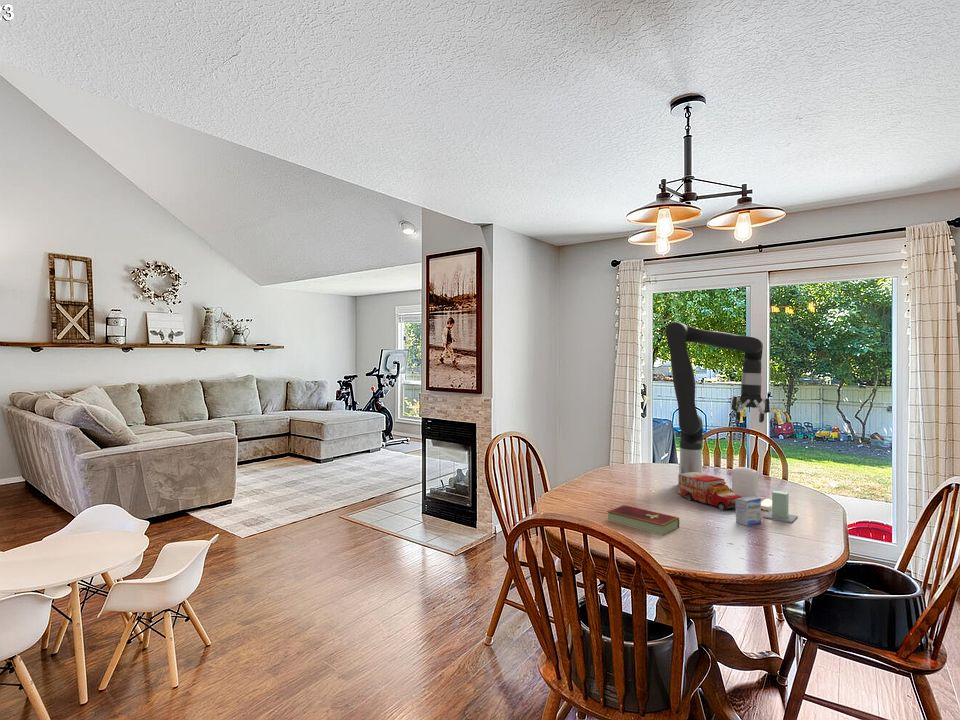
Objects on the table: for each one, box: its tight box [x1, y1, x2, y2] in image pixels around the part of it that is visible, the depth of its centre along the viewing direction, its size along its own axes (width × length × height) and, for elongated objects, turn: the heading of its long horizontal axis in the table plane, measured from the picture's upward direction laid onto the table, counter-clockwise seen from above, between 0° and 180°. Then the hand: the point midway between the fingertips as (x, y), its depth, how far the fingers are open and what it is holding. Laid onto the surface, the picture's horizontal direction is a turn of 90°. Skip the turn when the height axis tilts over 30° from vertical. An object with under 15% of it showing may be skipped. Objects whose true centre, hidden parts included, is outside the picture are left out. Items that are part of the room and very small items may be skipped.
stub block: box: [771, 490, 790, 518], centre depth 181 cm, size 4×3×8 cm, turn 45°
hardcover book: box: [606, 504, 680, 536], centre depth 174 cm, size 12×21×4 cm, turn 44°
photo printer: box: [731, 466, 760, 498], centre depth 208 cm, size 10×4×12 cm, turn 39°
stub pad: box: [762, 511, 799, 524], centre depth 181 cm, size 9×9×1 cm
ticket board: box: [761, 498, 772, 512], centre depth 194 cm, size 5×12×2 cm, turn 136°
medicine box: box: [735, 496, 762, 527], centre depth 175 cm, size 8×4×9 cm, turn 117°
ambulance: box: [677, 472, 743, 512], centre depth 200 cm, size 11×25×10 cm, turn 23°
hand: (749, 421), depth 213 cm, fingers open, 8 cm apart
